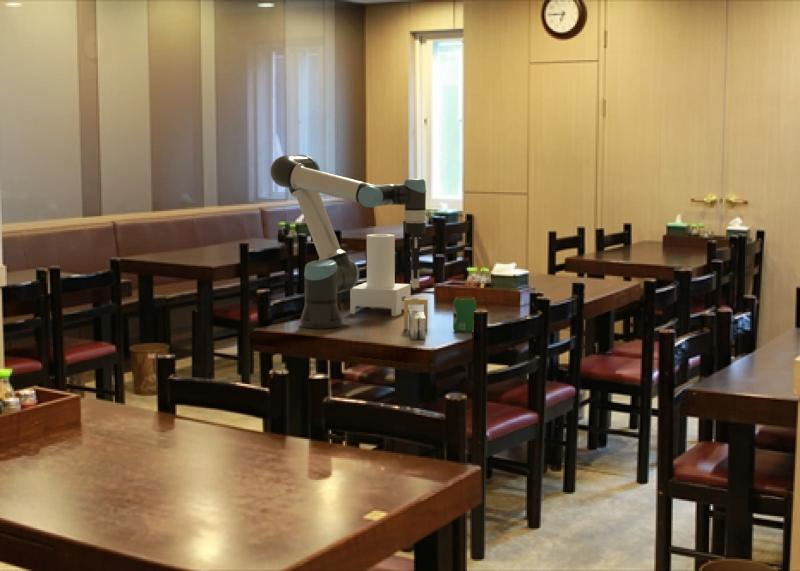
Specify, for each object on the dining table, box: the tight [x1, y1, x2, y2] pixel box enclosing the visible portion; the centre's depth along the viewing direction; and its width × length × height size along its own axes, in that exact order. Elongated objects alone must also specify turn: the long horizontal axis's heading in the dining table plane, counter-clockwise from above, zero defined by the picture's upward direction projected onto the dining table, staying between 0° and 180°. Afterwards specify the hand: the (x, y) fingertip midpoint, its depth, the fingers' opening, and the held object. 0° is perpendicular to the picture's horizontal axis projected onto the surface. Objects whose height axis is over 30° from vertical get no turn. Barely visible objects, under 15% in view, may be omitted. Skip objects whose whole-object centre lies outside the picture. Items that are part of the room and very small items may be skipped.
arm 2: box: [417, 310, 427, 341], centre depth 394 cm, size 18×2×7 cm, turn 1°
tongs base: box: [408, 309, 424, 312], centre depth 407 cm, size 3×5×7 cm, turn 92°
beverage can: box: [452, 296, 477, 334], centre depth 402 cm, size 8×8×12 cm
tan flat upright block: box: [403, 298, 429, 330], centre depth 407 cm, size 2×8×11 cm, turn 92°
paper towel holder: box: [349, 233, 412, 317], centre depth 448 cm, size 19×19×30 cm
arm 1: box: [408, 310, 419, 340], centre depth 394 cm, size 18×2×7 cm, turn 2°
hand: (415, 287), depth 412 cm, fingers closed
